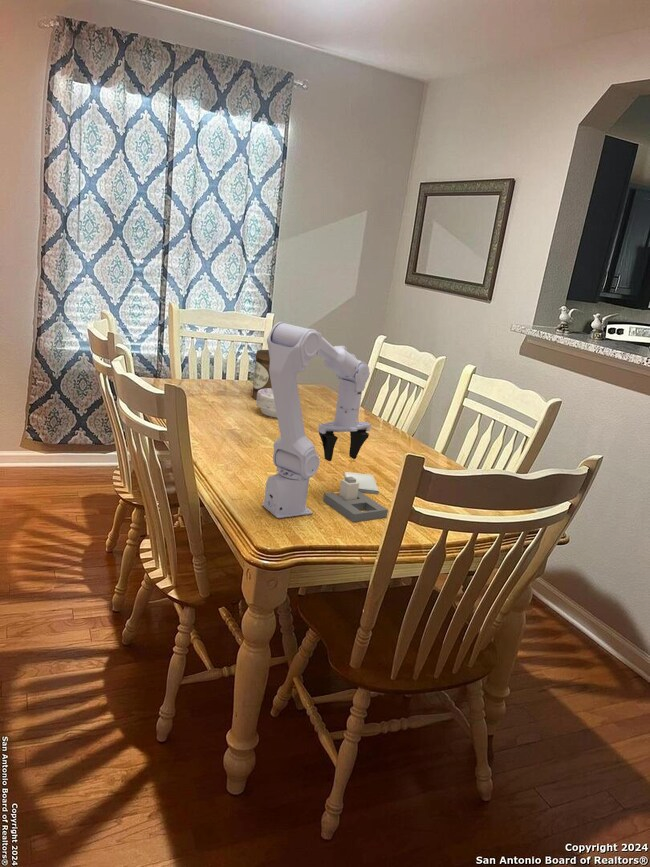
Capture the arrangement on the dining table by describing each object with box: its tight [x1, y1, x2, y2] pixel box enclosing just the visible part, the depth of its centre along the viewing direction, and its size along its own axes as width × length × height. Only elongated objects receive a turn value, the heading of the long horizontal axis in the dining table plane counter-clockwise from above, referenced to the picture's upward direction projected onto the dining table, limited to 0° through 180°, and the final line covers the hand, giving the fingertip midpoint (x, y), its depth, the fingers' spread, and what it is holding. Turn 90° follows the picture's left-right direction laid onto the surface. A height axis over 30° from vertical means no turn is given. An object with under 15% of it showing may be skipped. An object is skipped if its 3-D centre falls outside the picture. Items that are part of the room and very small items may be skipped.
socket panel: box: [322, 491, 389, 523], centre depth 160 cm, size 10×13×2 cm
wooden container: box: [251, 349, 272, 401], centre depth 254 cm, size 15×15×22 cm
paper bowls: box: [255, 388, 301, 419], centre depth 234 cm, size 15×15×8 cm
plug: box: [338, 476, 359, 500], centre depth 162 cm, size 3×3×7 cm
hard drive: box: [343, 471, 380, 495], centre depth 177 cm, size 2×8×12 cm
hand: (340, 458), depth 166 cm, fingers open, 7 cm apart
